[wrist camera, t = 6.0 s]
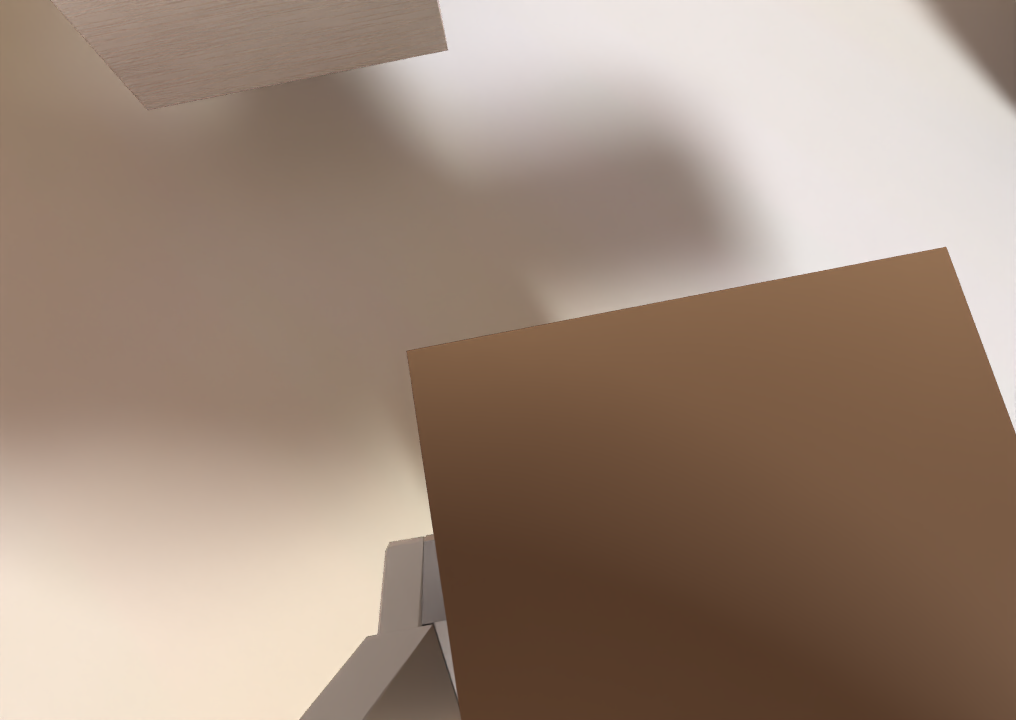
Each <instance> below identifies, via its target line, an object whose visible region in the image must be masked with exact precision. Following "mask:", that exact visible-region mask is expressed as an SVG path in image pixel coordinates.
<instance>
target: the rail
mask: <svg viewBox="0 0 1016 720" xmlns="http://www.w3.org/2000/svg"><path fill="white" fill-rule="evenodd" d="M407 357H408V364H409V371H410V377H411V384H412V391H413V398H414V404H415V411H416V418H417V425H418V432H419V438H420V445H421V452H422V459H423V465H424V472H425V479H426V486H427V493H428V499H429V506H430V513H431V520H432V526H433V533H434V540H435V547H436V553H437V560H438V567H439V574H440V581H441V587H442V594H443V601H444V608H445V614H446V621H447V628H448V635H449V642H450V648H451V655H452V662H453V669H454V675H455V682H456V689H457V696H458V703H459V709H460V716H461V720H1016V433H1015V430H1014V428H1013V425H1012V422H1011V420H1010V417H1009V414H1008V412H1007V409H1006V406H1005V404H1004V401H1003V398H1002V396H1001V393H1000V390H999V387H998V385H997V382H996V379H995V377H994V374H993V371H992V369H991V366H990V363H989V361H988V358H987V355H986V353H985V350H984V347H983V344H982V342H981V339H980V336H979V334H978V331H977V328H976V326H975V323H974V320H973V318H972V315H971V312H970V310H969V307H968V304H967V301H966V299H965V296H964V293H963V291H962V288H961V285H960V283H959V280H958V277H957V275H956V272H955V269H954V267H953V264H952V261H951V258H950V256H949V253H948V250H947V248H946V247H943V248H938V249H932V250H927V251H922V252H917V253H912V254H907V255H901V256H896V257H891V258H886V259H881V260H875V261H870V262H865V263H860V264H855V265H849V266H844V267H839V268H834V269H829V270H824V271H818V272H813V273H808V274H803V275H798V276H792V277H787V278H782V279H777V280H772V281H766V282H761V283H756V284H751V285H746V286H741V287H735V288H730V289H725V290H720V291H715V292H709V293H704V294H699V295H694V296H689V297H684V298H678V299H673V300H668V301H663V302H658V303H652V304H647V305H642V306H637V307H632V308H626V309H621V310H616V311H611V312H606V313H601V314H595V315H590V316H585V317H580V318H575V319H569V320H564V321H559V322H554V323H549V324H543V325H538V326H533V327H528V328H523V329H518V330H512V331H507V332H502V333H497V334H492V335H486V336H481V337H476V338H471V339H466V340H460V341H455V342H450V343H445V344H440V345H435V346H429V347H424V348H419V349H414V350H409V351H407Z"/></svg>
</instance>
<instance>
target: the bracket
mask: <svg viewBox="0 0 1016 720" xmlns="http://www.w3.org/2000/svg"><path fill="white" fill-rule="evenodd" d="M51 1H52V2H53V4H54V5H55V6H56V7H57V8H58V9H59V10H60V12H61V13H62V14H63V15H64V16H65V17H66V18H67V19H68V21H69V22H70V23H71V24H72V25H73V26H74V27H75V29H76V30H77V31H78V32H79V33H80V34H81V35H82V36H83V38H84V39H85V40H86V41H87V42H88V43H89V44H90V46H91V47H92V48H93V49H94V50H95V51H96V52H97V53H98V55H99V56H100V57H101V58H102V59H103V60H104V61H105V63H106V64H107V65H108V66H109V67H110V68H111V69H112V70H113V72H114V73H115V74H116V75H117V76H118V77H119V78H120V80H121V81H122V82H123V83H124V84H125V85H126V86H127V87H128V89H129V90H130V91H131V92H132V93H133V94H134V95H135V97H136V98H137V99H138V100H139V101H140V102H141V103H142V104H143V106H144V107H145V108H146V109H147V110H151V109H156V108H161V107H166V106H171V105H176V104H181V103H186V102H191V101H196V100H201V99H206V98H211V97H216V96H221V95H226V94H231V93H236V92H241V91H246V90H251V89H256V88H261V87H266V86H271V85H276V84H281V83H286V82H291V81H296V80H301V79H306V78H311V77H316V76H321V75H326V74H331V73H336V72H341V71H346V70H351V69H356V68H361V67H366V66H371V65H376V64H382V63H387V62H392V61H397V60H402V59H407V58H412V57H417V56H422V55H427V54H432V53H437V52H442V51H447V50H448V47H447V42H446V37H445V31H444V26H443V20H442V15H441V10H440V4H439V0H51Z"/></svg>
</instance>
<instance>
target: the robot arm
mask: <svg viewBox="0 0 1016 720" xmlns="http://www.w3.org/2000/svg"><path fill="white" fill-rule="evenodd" d="M299 720H461V716H460V709H459V703H458V696H457V689H456V682H455V675H454V669H453V662H452V655H451V648H450V642H449V635H448V628H447V621H446V614H445V608H444V601H443V594H442V587H441V581H440V574H439V567H438V560H437V553H436V547H435V540H434V534H432V535H426V537H417V538H411V539H405V540H399V541H393V542H389V544H388V546H387V548H386V551H385V561H384V572H383V582H382V593H381V603H380V614H379V624H378V635H373V636H368V637H366V638H365V639H364V641H363V642H362V643H361V644H360V645H359V647H358V648H357V649H356V650H355V652H354V653H353V654H352V655H351V657H350V658H349V659H348V660H347V661H346V663H345V664H344V665H343V666H342V668H341V669H340V670H339V671H338V673H337V674H336V675H335V676H334V677H333V679H332V680H331V681H330V682H329V684H328V685H327V686H326V687H325V689H324V690H323V691H322V692H321V693H320V695H319V696H318V697H317V698H316V700H315V701H314V702H313V703H312V705H311V706H310V707H309V708H308V709H307V711H306V712H305V713H304V714H303V716H302V717H301V718H300V719H299Z"/></svg>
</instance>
